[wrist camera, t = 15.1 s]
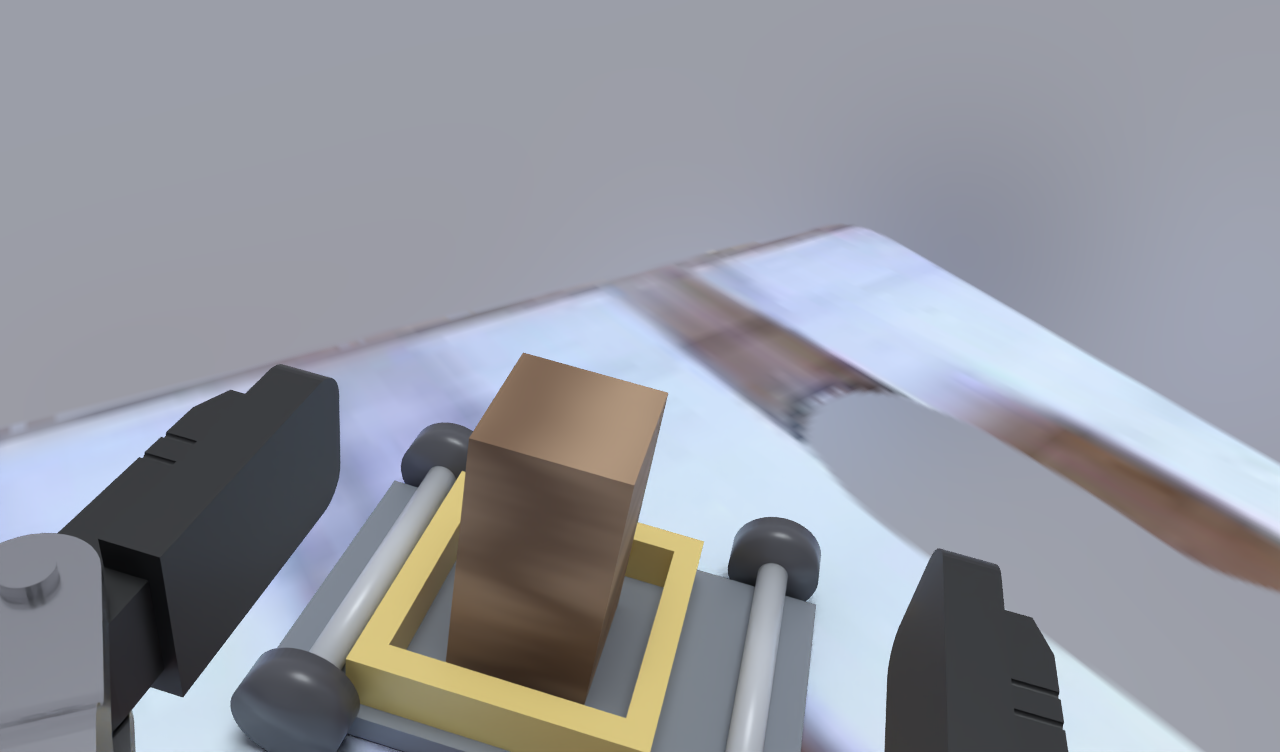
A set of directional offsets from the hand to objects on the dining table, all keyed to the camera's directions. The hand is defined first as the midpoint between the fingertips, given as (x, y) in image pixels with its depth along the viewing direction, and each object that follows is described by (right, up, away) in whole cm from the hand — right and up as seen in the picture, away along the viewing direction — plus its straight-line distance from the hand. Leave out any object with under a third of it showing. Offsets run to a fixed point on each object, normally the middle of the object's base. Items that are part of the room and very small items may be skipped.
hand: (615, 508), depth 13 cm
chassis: (-3, -9, +24) cm, 25 cm away
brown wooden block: (-3, -8, +23) cm, 25 cm away
